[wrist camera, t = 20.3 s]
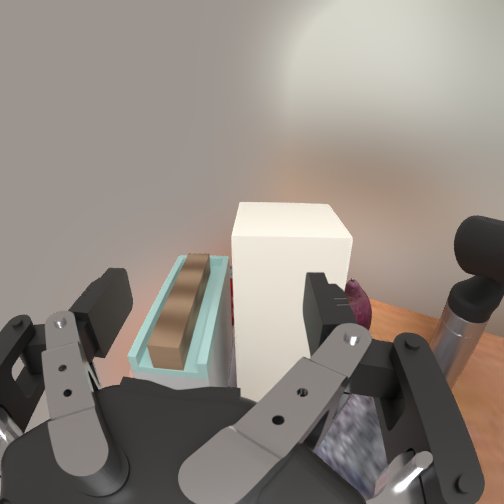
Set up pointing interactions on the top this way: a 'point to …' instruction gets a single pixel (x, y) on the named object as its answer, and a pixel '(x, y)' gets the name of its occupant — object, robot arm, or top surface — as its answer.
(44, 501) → the robot arm
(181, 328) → the tan block
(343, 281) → the cream box stand
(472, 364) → the top surface
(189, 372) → the teal tray
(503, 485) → the top surface
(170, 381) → the grey block
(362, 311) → the vegetable
